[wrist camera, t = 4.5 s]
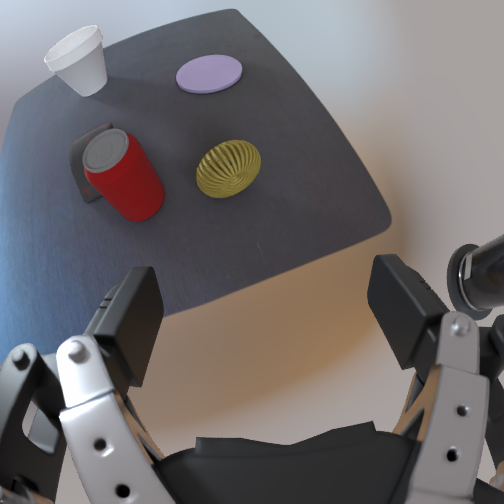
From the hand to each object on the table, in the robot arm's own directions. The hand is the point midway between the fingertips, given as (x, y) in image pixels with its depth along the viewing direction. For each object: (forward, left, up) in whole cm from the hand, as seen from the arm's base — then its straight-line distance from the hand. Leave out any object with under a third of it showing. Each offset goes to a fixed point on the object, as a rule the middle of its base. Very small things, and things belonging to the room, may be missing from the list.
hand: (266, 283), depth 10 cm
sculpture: (+3, -17, -22) cm, 27 cm away
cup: (+33, -47, -22) cm, 61 cm away
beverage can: (+15, -16, -22) cm, 30 cm away
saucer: (+7, -42, -22) cm, 47 cm away
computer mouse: (+24, -24, -22) cm, 40 cm away
